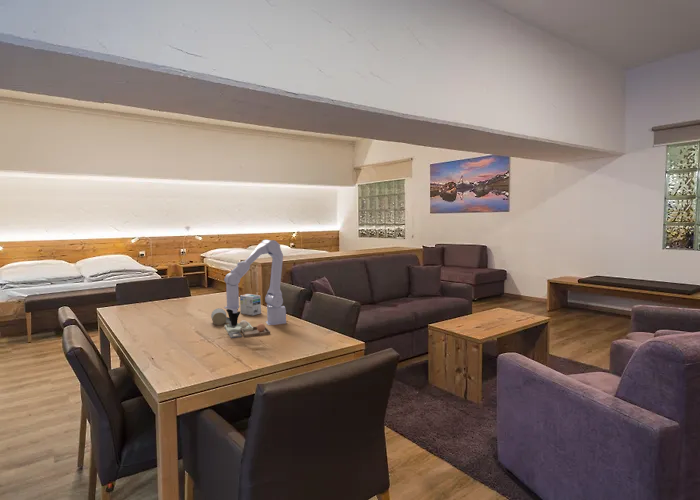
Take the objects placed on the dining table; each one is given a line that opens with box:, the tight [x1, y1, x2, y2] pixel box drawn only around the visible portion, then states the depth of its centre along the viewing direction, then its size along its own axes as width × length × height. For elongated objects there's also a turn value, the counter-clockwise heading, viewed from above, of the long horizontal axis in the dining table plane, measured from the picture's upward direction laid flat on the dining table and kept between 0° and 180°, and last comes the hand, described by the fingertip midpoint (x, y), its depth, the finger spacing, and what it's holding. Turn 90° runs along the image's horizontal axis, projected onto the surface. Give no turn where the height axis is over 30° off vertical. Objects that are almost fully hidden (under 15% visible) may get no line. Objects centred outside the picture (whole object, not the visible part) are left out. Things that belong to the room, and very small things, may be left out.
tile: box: [227, 332, 243, 339], centre depth 194 cm, size 5×8×1 cm, turn 24°
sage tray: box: [224, 321, 254, 334], centre depth 205 cm, size 12×12×2 cm
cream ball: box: [239, 319, 248, 328], centre depth 206 cm, size 4×4×4 cm
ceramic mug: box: [210, 308, 230, 326], centre depth 216 cm, size 11×8×8 cm
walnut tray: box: [240, 325, 271, 338], centre depth 198 cm, size 12×12×2 cm
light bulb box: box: [239, 293, 262, 316], centre depth 239 cm, size 11×7×11 cm, turn 58°
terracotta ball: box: [257, 323, 266, 332], centre depth 199 cm, size 4×4×4 cm
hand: (233, 324), depth 204 cm, fingers open, 4 cm apart
